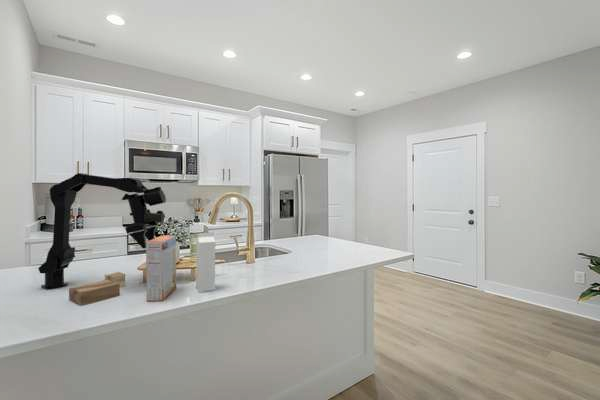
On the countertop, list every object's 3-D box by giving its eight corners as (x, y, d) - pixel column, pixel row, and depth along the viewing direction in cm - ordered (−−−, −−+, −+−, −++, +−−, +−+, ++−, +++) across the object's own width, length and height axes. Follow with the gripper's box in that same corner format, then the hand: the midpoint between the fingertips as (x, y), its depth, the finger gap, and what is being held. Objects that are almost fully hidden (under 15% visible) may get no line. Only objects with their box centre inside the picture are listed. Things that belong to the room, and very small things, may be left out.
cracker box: (160, 288, 114) (161, 234, 114) (176, 288, 115) (177, 234, 114) (144, 301, 100) (145, 240, 100) (163, 301, 101) (163, 240, 100)
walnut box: (69, 300, 101) (69, 287, 101) (107, 290, 111) (107, 279, 111) (80, 305, 96) (80, 292, 96) (119, 295, 106) (119, 283, 106)
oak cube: (104, 287, 115) (104, 274, 115) (118, 284, 119) (118, 271, 119) (111, 289, 112) (111, 276, 112) (125, 286, 116) (125, 273, 116)
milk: (214, 290, 113) (215, 233, 113) (198, 292, 110) (199, 234, 110) (211, 285, 118) (212, 231, 118) (195, 288, 116) (196, 232, 115)
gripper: (151, 205, 110) (162, 245, 111) (166, 203, 128) (175, 237, 129) (120, 212, 108) (131, 252, 109) (139, 209, 127) (149, 244, 128)
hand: (148, 246), depth 119 cm, fingers open, 9 cm apart
